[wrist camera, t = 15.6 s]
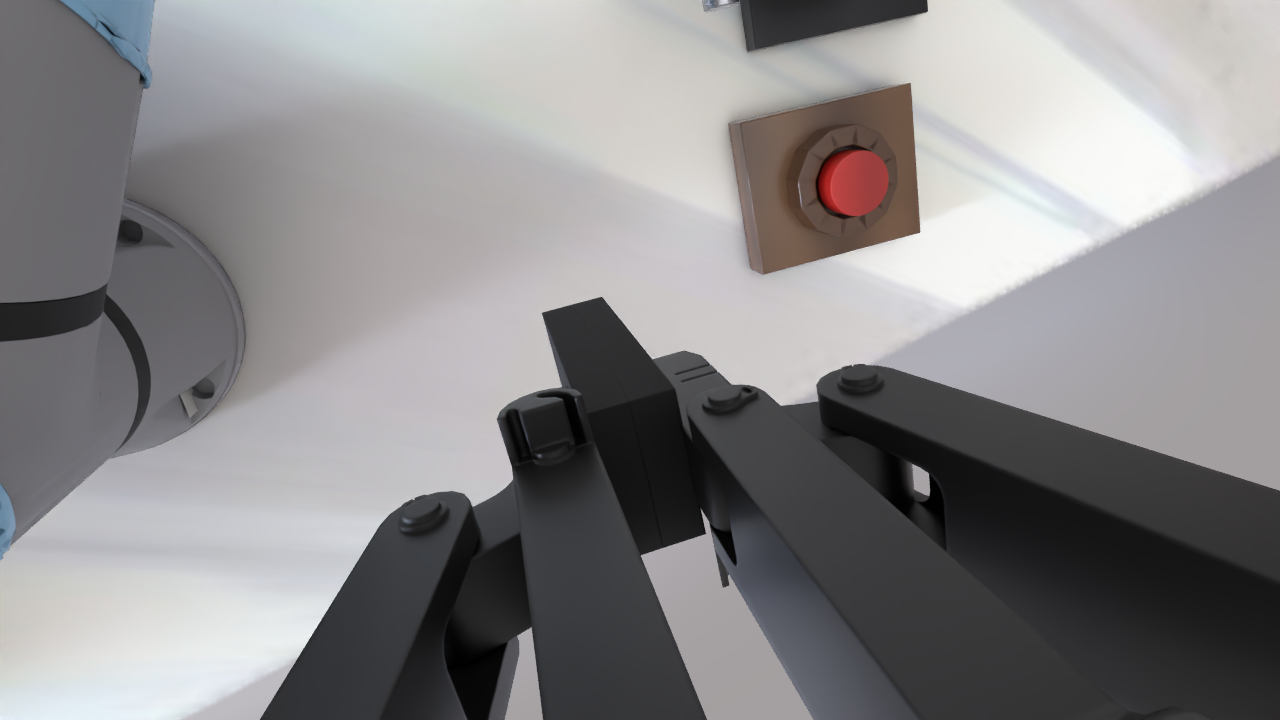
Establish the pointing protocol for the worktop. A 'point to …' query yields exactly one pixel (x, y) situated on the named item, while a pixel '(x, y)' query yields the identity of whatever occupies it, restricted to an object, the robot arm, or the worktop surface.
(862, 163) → the button
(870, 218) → the button box
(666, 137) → the worktop surface
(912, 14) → the black lever stand
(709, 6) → the tap lever
